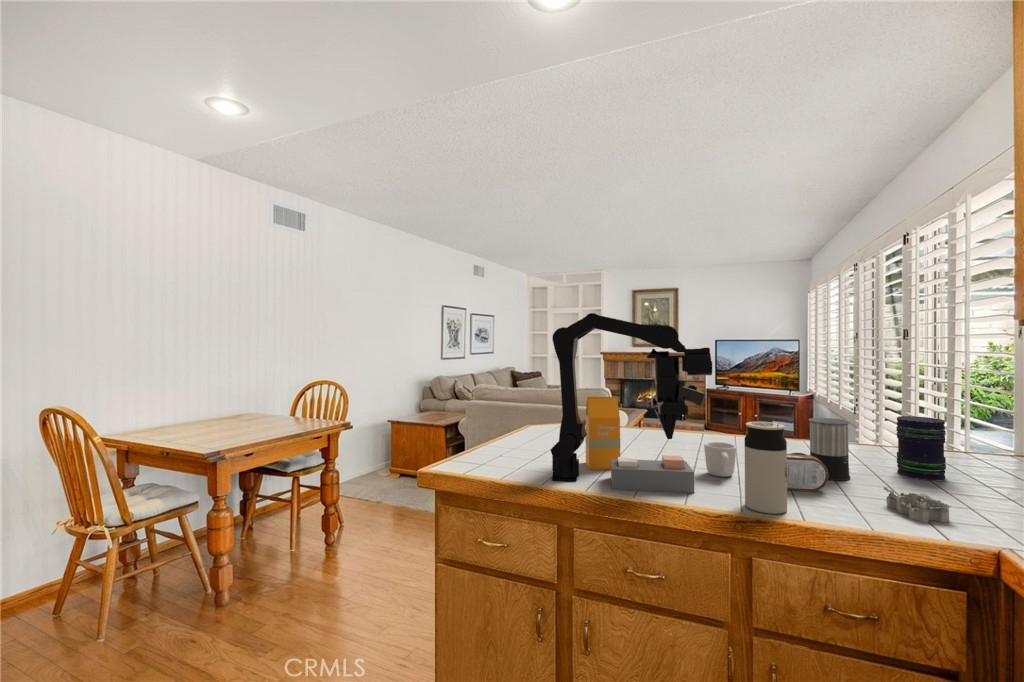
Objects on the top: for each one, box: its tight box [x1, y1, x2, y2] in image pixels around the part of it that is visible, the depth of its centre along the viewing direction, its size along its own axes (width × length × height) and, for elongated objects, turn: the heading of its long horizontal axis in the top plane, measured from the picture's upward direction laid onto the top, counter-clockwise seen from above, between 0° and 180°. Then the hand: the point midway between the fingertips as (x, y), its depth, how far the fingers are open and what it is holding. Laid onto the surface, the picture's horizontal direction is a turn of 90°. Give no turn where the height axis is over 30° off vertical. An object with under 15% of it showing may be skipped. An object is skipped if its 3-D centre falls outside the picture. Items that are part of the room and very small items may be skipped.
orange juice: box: [584, 396, 621, 470], centre depth 136 cm, size 8×9×20 cm
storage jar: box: [896, 415, 947, 481], centre depth 125 cm, size 10×10×15 cm
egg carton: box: [883, 486, 954, 523], centre depth 98 cm, size 11×8×4 cm
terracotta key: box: [661, 455, 685, 469], centre depth 117 cm, size 5×5×4 cm
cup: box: [703, 441, 737, 478], centre depth 125 cm, size 11×8×8 cm
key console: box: [610, 459, 695, 494], centre depth 117 cm, size 19×10×5 cm, turn 80°
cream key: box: [618, 456, 638, 467], centre depth 118 cm, size 5×5×4 cm
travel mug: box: [744, 421, 788, 515], centre depth 101 cm, size 8×8×18 cm
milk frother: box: [790, 417, 851, 481], centre depth 128 cm, size 14×16×15 cm
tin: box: [787, 453, 829, 492], centre depth 114 cm, size 15×3×8 cm, turn 77°
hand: (669, 438), depth 117 cm, fingers closed
